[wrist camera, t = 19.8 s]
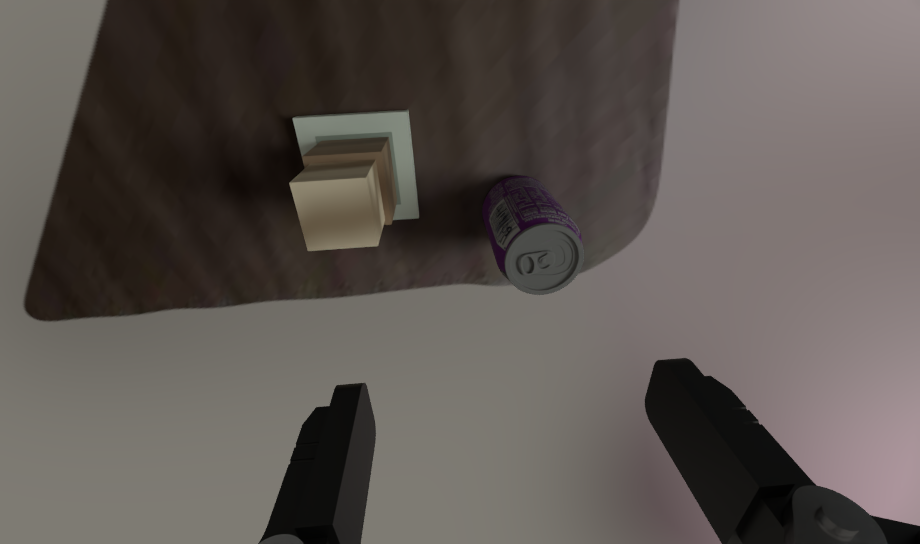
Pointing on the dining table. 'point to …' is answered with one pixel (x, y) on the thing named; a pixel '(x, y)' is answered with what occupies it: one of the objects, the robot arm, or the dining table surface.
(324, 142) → the walnut cube
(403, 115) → the plate
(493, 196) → the beverage can
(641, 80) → the dining table surface
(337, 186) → the beech cube
